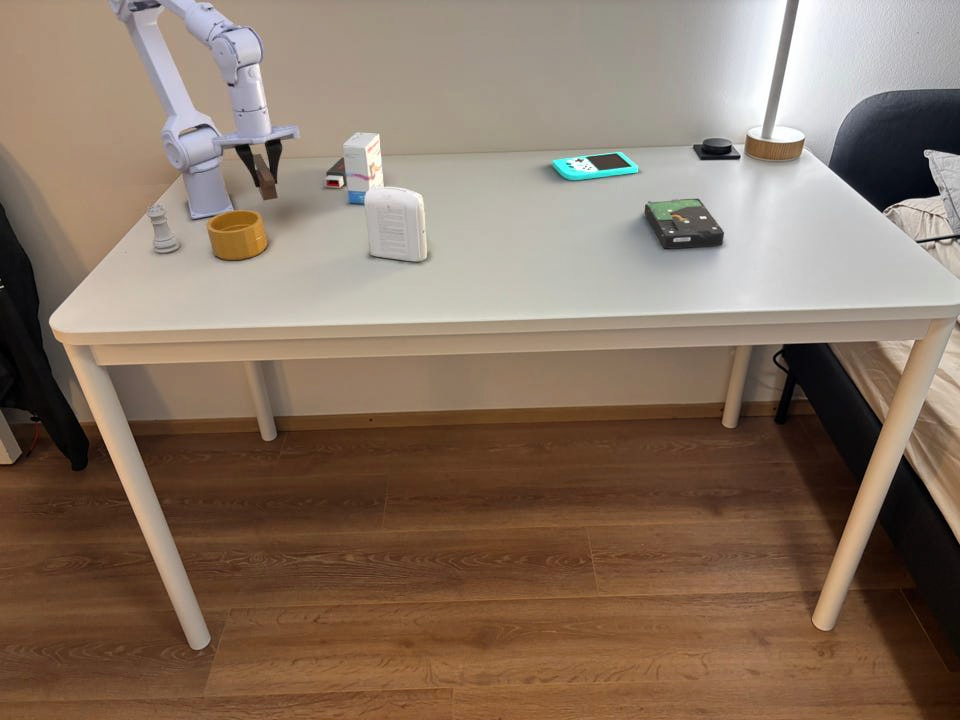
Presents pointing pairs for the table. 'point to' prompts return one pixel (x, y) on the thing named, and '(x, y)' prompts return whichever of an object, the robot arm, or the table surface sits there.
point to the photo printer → (396, 223)
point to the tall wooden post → (265, 178)
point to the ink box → (362, 165)
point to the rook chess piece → (162, 231)
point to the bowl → (237, 234)
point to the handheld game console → (594, 166)
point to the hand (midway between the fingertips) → (265, 183)
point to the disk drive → (683, 223)
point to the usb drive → (336, 175)
